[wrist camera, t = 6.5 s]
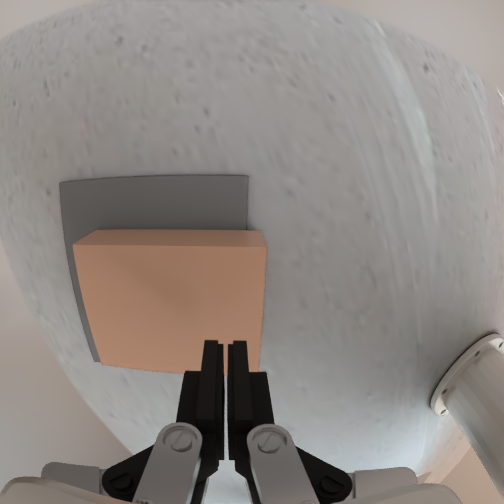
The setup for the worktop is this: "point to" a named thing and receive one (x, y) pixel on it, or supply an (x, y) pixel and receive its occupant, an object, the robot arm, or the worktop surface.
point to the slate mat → (148, 211)
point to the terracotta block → (171, 294)
